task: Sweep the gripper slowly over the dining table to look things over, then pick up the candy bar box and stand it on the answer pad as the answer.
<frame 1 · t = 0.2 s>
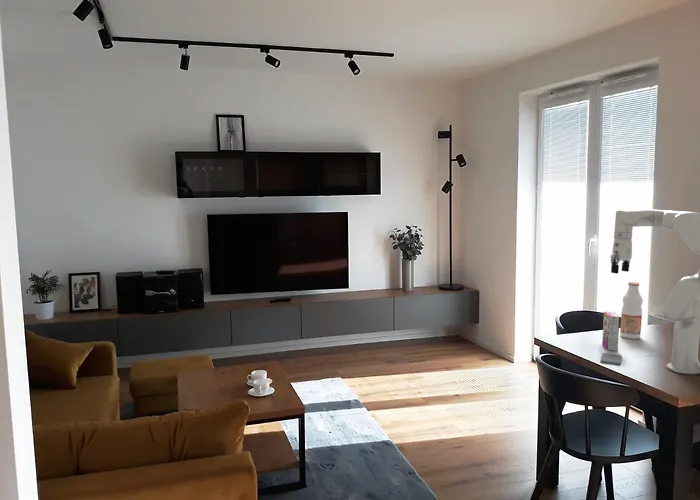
hand: (619, 272, 272), 37 cm above the table, tool pointing down, fingers open, 9 cm apart
answer pad: (611, 359, 259), on the table
candy bar box: (609, 348, 279), on the table
fruit juice: (629, 337, 299), on the table
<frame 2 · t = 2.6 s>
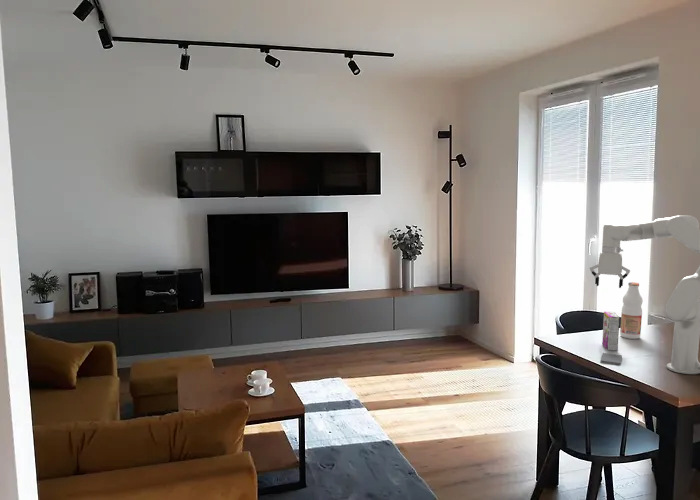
hand: (608, 286, 273), 30 cm above the table, tool pointing down, fingers open, 9 cm apart
nothing on the table moved.
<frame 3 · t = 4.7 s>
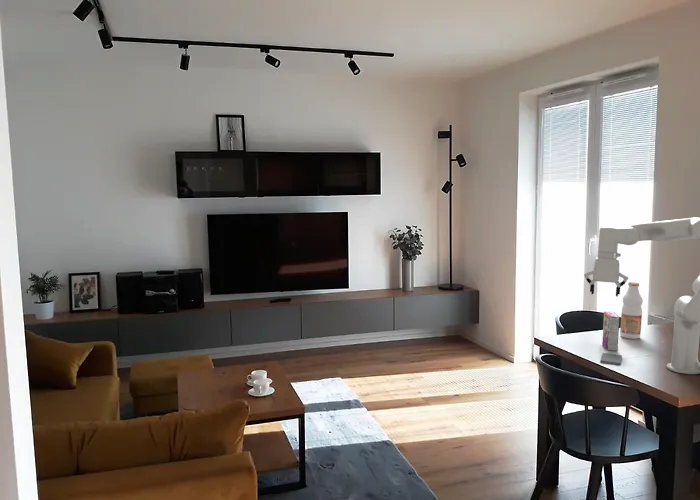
hand: (604, 294, 251), 30 cm above the table, tool pointing down, fingers open, 9 cm apart
nothing on the table moved.
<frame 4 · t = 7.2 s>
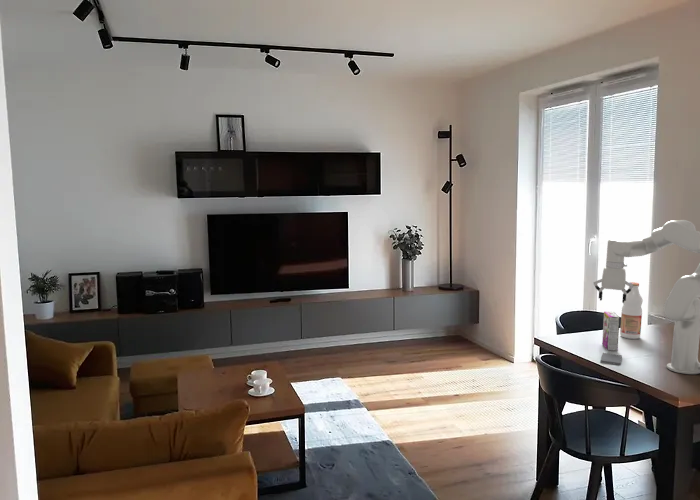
hand: (612, 301, 275), 23 cm above the table, tool pointing down, fingers open, 9 cm apart
nothing on the table moved.
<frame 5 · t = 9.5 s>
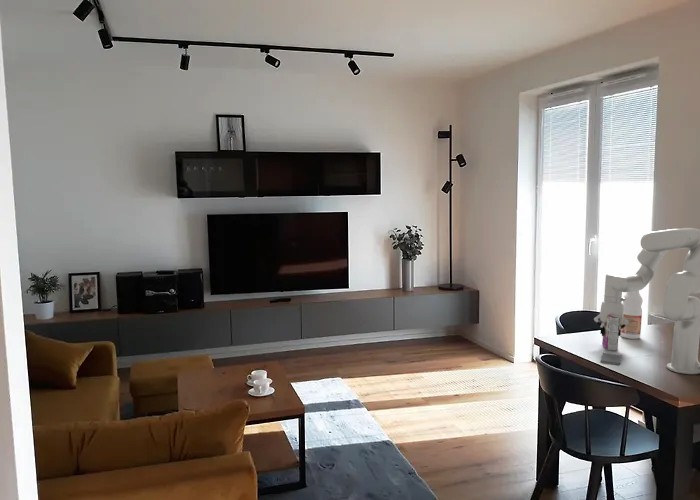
hand: (610, 336, 278), 6 cm above the table, tool pointing down, fingers closed on candy bar box, 6 cm apart
candy bar box: (609, 347, 279), on the table, touching gripper
everything else where it was.
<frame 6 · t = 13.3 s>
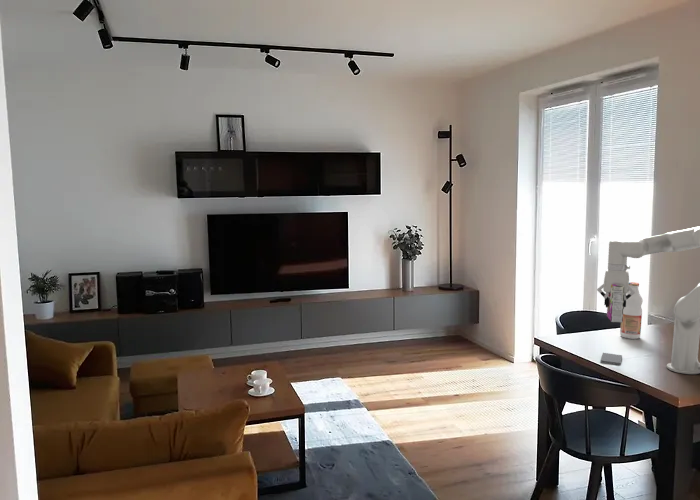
hand: (614, 307, 260), 23 cm above the table, tool pointing down, fingers closed on candy bar box, 5 cm apart
candy bar box: (614, 320, 260), point 17 cm above the table, touching gripper
everything else where it was.
when the fingers open (8 cm above the table, at t = 17.0 s): candy bar box drops 1 cm, resting on answer pad.
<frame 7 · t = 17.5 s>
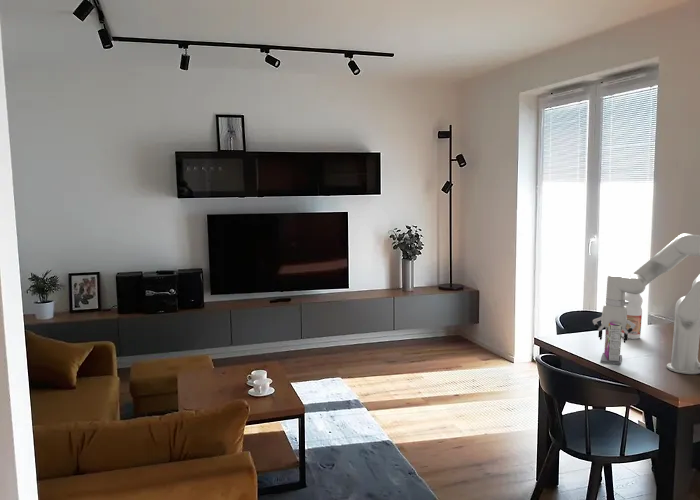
hand: (612, 340, 258), 9 cm above the table, tool pointing down, fingers open, 9 cm apart
candy bar box: (611, 358, 259), point 1 cm above the table, touching answer pad
everything else where it was.
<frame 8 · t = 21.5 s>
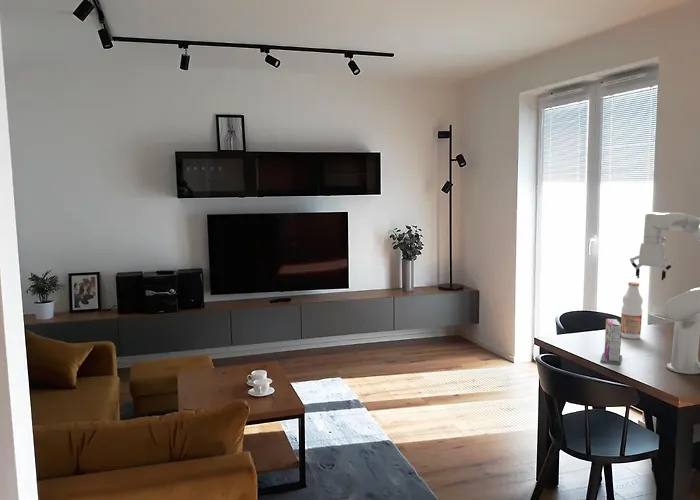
hand: (650, 278, 258), 36 cm above the table, tool pointing down, fingers open, 9 cm apart
nothing on the table moved.
at the end: candy bar box 0.0 cm off-centre on the answer pad, point 0.8 cm above the answer pad's base; candy bar box tilted 0°; the gripper is holding nothing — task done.
